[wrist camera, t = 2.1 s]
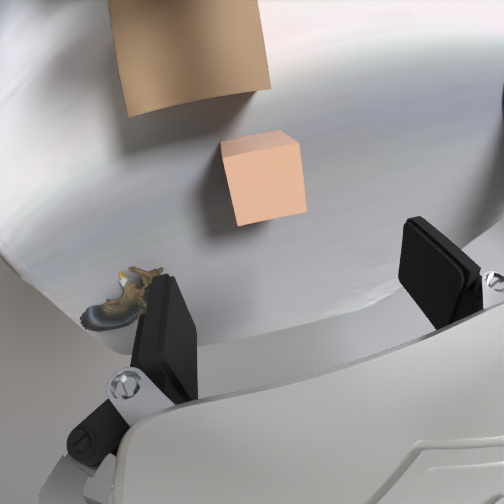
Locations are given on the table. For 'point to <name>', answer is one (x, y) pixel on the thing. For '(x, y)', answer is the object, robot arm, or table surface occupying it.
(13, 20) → the table surface
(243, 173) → the peach block
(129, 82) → the walnut block
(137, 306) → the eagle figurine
